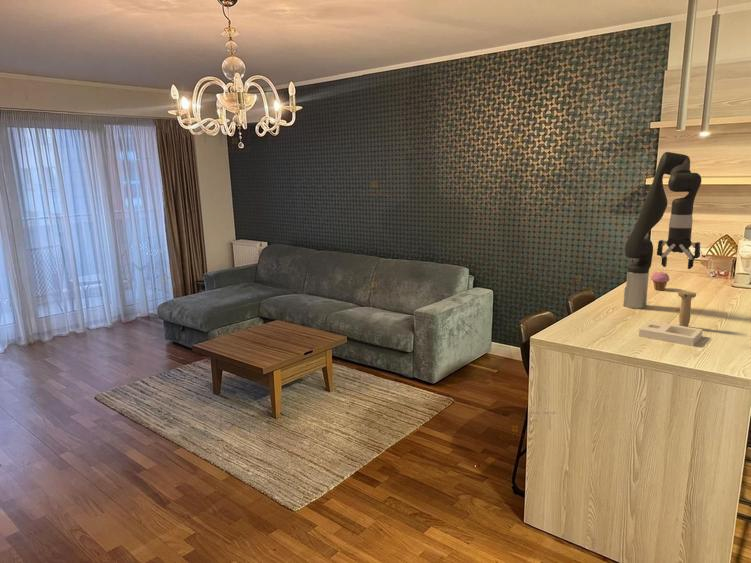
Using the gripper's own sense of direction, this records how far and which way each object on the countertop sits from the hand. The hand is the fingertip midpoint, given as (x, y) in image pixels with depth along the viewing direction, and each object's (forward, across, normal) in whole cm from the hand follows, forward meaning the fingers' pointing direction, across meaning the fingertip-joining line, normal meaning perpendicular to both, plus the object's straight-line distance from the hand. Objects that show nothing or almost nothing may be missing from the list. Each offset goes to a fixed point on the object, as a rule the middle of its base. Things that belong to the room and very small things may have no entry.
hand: (676, 267), depth 195 cm
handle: (+28, -1, -16) cm, 33 cm away
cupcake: (+28, +26, -80) cm, 89 cm away
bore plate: (+28, 0, 0) cm, 28 cm away
